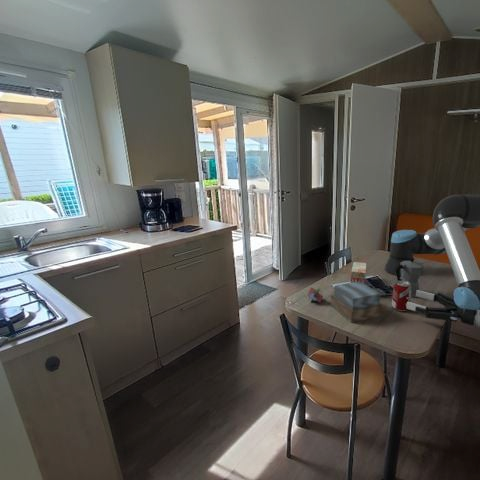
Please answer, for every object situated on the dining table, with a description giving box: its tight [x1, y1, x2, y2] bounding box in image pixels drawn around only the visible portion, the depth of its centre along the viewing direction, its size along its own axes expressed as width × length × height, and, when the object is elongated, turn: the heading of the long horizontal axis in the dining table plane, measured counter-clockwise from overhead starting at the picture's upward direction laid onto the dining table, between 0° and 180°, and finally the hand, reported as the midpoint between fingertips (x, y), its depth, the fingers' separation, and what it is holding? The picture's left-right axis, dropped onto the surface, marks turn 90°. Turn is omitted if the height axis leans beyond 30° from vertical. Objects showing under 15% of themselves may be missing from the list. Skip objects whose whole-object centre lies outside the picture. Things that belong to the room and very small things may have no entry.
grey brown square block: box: [329, 281, 384, 323], centre depth 124 cm, size 15×15×10 cm
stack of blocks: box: [350, 261, 367, 285], centre depth 147 cm, size 21×6×12 cm, turn 155°
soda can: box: [391, 280, 412, 312], centre depth 124 cm, size 7×7×12 cm
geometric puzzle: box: [307, 287, 324, 304], centre depth 134 cm, size 7×7×8 cm
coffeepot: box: [395, 257, 424, 298], centre depth 136 cm, size 15×9×18 cm, turn 107°
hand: (411, 298), depth 121 cm, fingers open, 13 cm apart
